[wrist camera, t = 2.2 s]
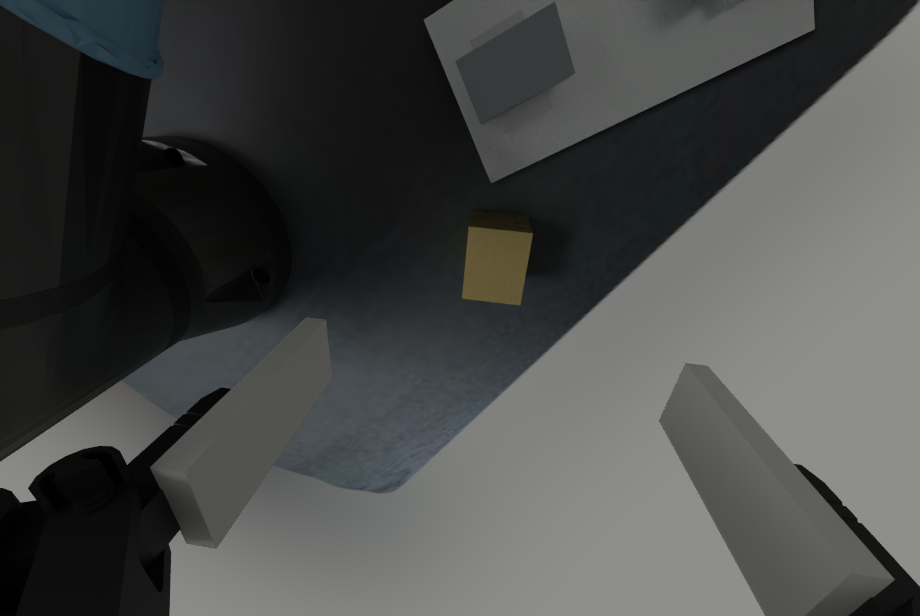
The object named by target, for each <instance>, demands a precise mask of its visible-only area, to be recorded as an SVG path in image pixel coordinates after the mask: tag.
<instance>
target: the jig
mask: <svg viewBox="0 0 920 616" xmlns="http://www.w3.org/2000/svg"><path fill="white" fill-rule="evenodd" d="M424 22H425V25H426V27H427V29H428V32H429V34H430V37H431V39H432V42H433V44H434V46H435V49H436V51H437V54H438V56H439V59H440V61H441V63H442V66H443V68H444V71H445V73H446V76H447V78H448V80H449V83H450V85H451V88H452V90H453V92H454V95H455V97H456V100H457V102H458V105H459V107H460V109H461V112H462V114H463V117H464V119H465V122H466V124H467V126H468V129H469V131H470V134H471V136H472V139H473V141H474V143H475V146H476V148H477V151H478V153H479V155H480V158H481V160H482V163H483V165H484V168H485V170H486V172H487V175H488V177H489V180H490V182H491V183H493V182H495V181H497V180H499V179H501V178H503V177H506V176H508V175H510V174H512V173H514V172H516V171H518V170H520V169H522V168H524V167H527V166H529V165H531V164H533V163H535V162H537V161H539V160H541V159H543V158H545V157H548V156H550V155H552V154H554V153H556V152H558V151H560V150H562V149H564V148H566V147H569V146H571V145H573V144H575V143H577V142H579V141H581V140H583V139H585V138H587V137H590V136H592V135H594V134H596V133H598V132H600V131H602V130H604V129H606V128H608V127H611V126H613V125H615V124H617V123H619V122H621V121H623V120H625V119H627V118H629V117H632V116H634V115H636V114H638V113H640V112H642V111H644V110H646V109H648V108H650V107H653V106H655V105H657V104H659V103H661V102H663V101H665V100H667V99H669V98H671V97H674V96H676V95H678V94H680V93H682V92H684V91H686V90H688V89H690V88H692V87H695V86H697V85H699V84H701V83H703V82H705V81H707V80H709V79H711V78H713V77H716V76H718V75H720V74H722V73H724V72H726V71H728V70H730V69H732V68H734V67H737V66H739V65H741V64H743V63H745V62H747V61H749V60H751V59H753V58H755V57H758V56H760V55H762V54H764V53H766V52H768V51H770V50H772V49H774V48H776V47H779V46H781V45H783V44H785V43H787V42H789V41H791V40H793V39H795V38H797V37H800V36H802V35H804V34H806V33H808V32H810V31H812V30H814V29H815V22H814V0H453V1H452V2H450V3H449V4H447V5H446V6H444V7H443V8H441V9H439V10H438V11H436V12H435V13H433V14H432V15H430V16H429V17H427V18H426V19H424Z"/></svg>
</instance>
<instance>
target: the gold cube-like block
mask: <svg viewBox="0 0 920 616" xmlns="http://www.w3.org/2000/svg"><path fill="white" fill-rule="evenodd" d="M532 237H533V231H532V228H531V225H530V222H529V219H528V216H526V215H516V214H506V213H496V212H486V211H476V210H474V211H473V215H472V218H471V221H470V224H469V228H468V239H467V250H466V261H465V272H464V283H463V294H462V299H470V300H478V301H487V302H496V303H504V304H513V305H520V304H521V299H522V293H523V287H524V282H525V276H526V271H527V265H528V259H529V254H530V248H531V242H532Z"/></svg>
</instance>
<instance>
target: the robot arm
mask: <svg viewBox="0 0 920 616" xmlns="http://www.w3.org/2000/svg"><path fill="white" fill-rule="evenodd" d="M162 1H163V0H0V461H2V460H3V459H5V458H6V457H8V456H9V455H11V454H12V453H14V452H15V451H17V450H18V449H20V448H21V447H23V446H24V445H26V444H27V443H29V442H30V441H32V440H33V439H35V438H36V437H37V436H39V435H40V434H42V433H43V432H45V431H46V430H48V429H49V428H51V427H52V426H54V425H55V424H57V423H58V422H60V421H61V420H63V419H64V418H66V417H67V416H69V415H70V414H71V413H73V412H74V411H76V410H78V409H79V408H81V407H82V406H83V405H85V404H86V403H88V402H89V401H91V400H92V399H94V398H95V397H97V396H98V395H100V394H101V393H103V392H104V391H106V390H107V389H108V388H110V387H112V386H113V385H115V384H116V383H118V382H119V381H121V380H122V379H124V378H125V377H127V376H128V375H130V374H131V373H132V372H134V371H135V370H137V369H138V368H140V367H141V366H143V365H144V364H146V363H147V362H149V361H150V360H152V359H153V358H155V357H156V356H158V355H159V354H160V353H162V352H163V351H165V350H166V349H168V348H170V347H171V346H173V345H174V344H176V343H178V342H179V341H182V340H186V339H190V338H193V337H197V336H201V335H204V334H208V333H212V332H215V331H219V330H223V329H226V328H230V327H234V326H237V325H240V324H243V323H245V322H247V321H249V320H251V319H253V318H254V317H256V316H257V315H259V314H260V313H261V312H262V311H264V310H265V309H266V308H268V307H269V306H270V305H272V304H273V303H274V302H275V301H276V300H277V299H278V297H279V296H280V295H281V293H282V292H283V290H284V288H285V286H286V283H287V281H288V277H289V273H290V265H291V254H290V246H289V240H288V236H287V233H286V230H285V227H284V224H283V222H282V219H281V217H280V215H279V213H278V211H277V209H276V207H275V206H274V204H273V202H272V201H271V199H270V198H269V196H268V195H267V193H266V192H265V191H264V189H263V188H262V187H261V186H260V185H259V183H258V182H257V181H256V180H255V179H254V178H253V177H252V176H251V175H250V174H249V173H248V172H247V171H246V170H245V169H244V168H242V167H241V166H240V165H239V164H238V163H236V162H235V161H234V160H232V159H231V158H229V157H228V156H226V155H225V154H223V153H222V152H220V151H218V150H216V149H214V148H212V147H210V146H208V145H206V144H203V143H200V142H198V141H194V140H191V139H187V138H182V137H173V136H158V137H142V135H143V129H144V123H145V117H146V111H147V104H148V98H149V92H150V86H151V80H152V79H154V78H157V77H160V76H161V74H162V69H163V60H162V57H161V54H160V51H159V49H158V41H159V31H160V21H161V11H162ZM331 379H332V369H331V360H330V351H329V342H328V333H327V324H326V320H325V319H317V318H309V317H306V318H305V319H304V320H303V321H302V322H301V323H300V324H299V325H298V326H297V327H295V328H294V329H293V330H292V331H291V332H290V333H289V334H288V335H287V336H286V337H285V338H284V339H283V340H282V341H281V342H280V343H279V344H278V345H277V346H276V347H275V348H274V349H273V350H272V351H271V352H269V353H268V354H267V355H266V356H265V357H264V358H263V359H262V360H261V361H260V362H259V363H258V364H257V365H256V366H255V367H254V368H253V369H252V370H251V371H250V372H249V373H248V374H247V375H246V376H245V377H243V378H242V379H241V380H240V381H239V382H238V383H237V384H236V385H235V386H234V387H233V388H232V389H228V388H219V389H218V390H216V391H214V392H212V393H210V394H208V395H207V396H205V397H203V398H201V399H200V400H199V401H198V402H197V403H196V404H195V405H194V406H192V407H191V408H190V409H189V410H188V411H187V413H186V415H185V414H184V415H182V416H181V417H180V418H179V419H178V420H177V421H176V422H175V423H174V425H173V426H170V427H169V428H168V429H167V430H166V431H165V432H164V433H162V434H161V435H160V436H159V437H158V438H157V439H156V440H155V441H153V443H151V444H150V445H149V446H148V447H147V448H146V449H145V450H143V451H142V452H141V453H140V454H139V455H138V456H137V457H136V458H134V459H133V460H132V461H131V462H130V463H129V464H128V465H127V464H126V462H125V460H124V458H123V456H122V454H121V453H120V451H119V450H117V449H116V448H114V447H111V446H97V447H92V448H87V449H83V450H80V451H78V452H76V453H73V454H70V455H68V456H65V457H64V458H62V459H60V460H58V461H57V462H55V463H53V464H51V465H50V466H48V467H47V468H46V469H45V470H44V471H43V472H41V473H40V474H39V475H38V476H36V478H35V479H34V481H33V482H32V483H31V485H30V486H29V488H28V489H29V490H30V492H31V493H32V494H33V496H34V497H35V498H36V501H29V502H23V503H20V502H19V500H18V499H17V498H16V496H15V495H14V494H13V493H12V491H9V490H6V489H3V488H0V616H169V608H170V573H171V551H170V547H169V542H170V541H171V540H172V539H173V537H174V536H175V535H176V533H177V532H178V531H179V530H180V531H181V533H182V535H183V537H184V539H185V541H186V543H187V544H191V545H198V546H204V547H210V548H217V547H218V546H219V544H220V543H221V541H222V540H223V538H224V537H225V535H226V534H227V532H228V531H229V529H230V528H231V527H232V525H233V524H234V522H235V521H236V519H237V518H238V516H239V515H240V513H241V512H242V510H243V509H244V507H245V506H246V504H247V503H248V501H249V500H250V499H251V497H252V496H253V494H254V493H255V491H256V490H257V488H258V487H259V485H260V484H261V482H262V481H263V479H264V478H265V476H266V475H267V473H268V472H269V471H270V469H271V468H272V466H273V465H274V463H275V462H276V460H277V459H278V457H279V456H280V454H281V453H282V451H283V450H284V449H285V447H286V446H287V444H288V443H289V441H290V440H291V438H292V437H293V435H294V434H295V432H296V431H297V429H298V428H299V426H300V425H301V423H302V422H303V421H304V419H305V418H306V416H307V415H308V413H309V412H310V410H311V409H312V407H313V406H314V404H315V403H316V401H317V400H318V398H319V397H320V396H321V394H322V393H323V391H324V390H325V388H326V387H327V385H328V384H329V382H330V381H331ZM659 422H660V423H661V425H662V427H663V429H664V431H665V432H666V434H667V436H668V438H669V440H670V442H671V444H672V445H673V447H674V449H675V451H676V453H677V455H678V456H679V458H680V460H681V462H682V464H683V465H684V467H685V469H686V471H687V473H688V475H689V477H690V478H691V480H692V482H693V484H694V486H695V488H696V489H697V491H698V493H699V495H700V497H701V499H702V500H703V502H704V504H705V506H706V508H707V510H708V512H709V513H710V515H711V517H712V519H713V521H714V522H715V524H716V526H717V528H718V530H719V532H720V534H721V535H722V537H723V539H724V541H725V543H726V545H727V546H728V548H729V550H730V552H731V554H732V556H733V557H734V559H735V561H736V563H737V565H738V566H739V568H740V570H741V572H742V574H743V576H744V577H745V580H746V581H747V583H748V585H749V587H750V589H751V591H752V592H753V594H754V596H755V598H756V600H757V602H758V603H759V605H760V607H761V609H762V611H763V612H764V614H765V616H920V586H919V585H917V583H916V582H915V581H914V580H913V579H912V578H911V577H910V576H909V574H907V572H906V571H905V570H904V569H903V568H902V567H901V566H900V565H899V564H898V562H897V561H896V560H895V559H894V558H893V557H892V556H891V555H890V554H889V553H888V552H887V551H886V549H885V548H884V547H883V546H882V545H881V544H880V543H879V542H878V541H877V540H876V539H875V537H874V536H873V535H872V534H871V533H870V532H869V531H868V530H867V529H866V528H865V527H864V525H862V523H858V521H857V518H856V517H855V516H854V515H853V513H852V512H851V511H850V510H849V509H848V508H847V507H846V506H843V505H842V501H841V500H840V499H839V498H838V497H837V496H836V495H835V494H834V493H833V492H832V491H831V489H829V487H828V486H827V485H826V484H825V483H824V482H823V481H821V480H820V479H819V478H817V477H816V476H815V475H814V474H812V473H811V472H809V471H808V470H807V469H806V468H804V467H803V466H802V465H797V464H793V463H792V462H791V461H790V459H788V457H787V456H786V455H785V454H784V453H783V451H782V450H781V449H780V448H779V447H778V446H777V445H776V444H775V443H774V441H773V440H772V439H771V438H770V437H769V435H768V434H767V433H766V432H765V431H764V430H763V429H762V427H761V426H760V425H759V424H758V423H757V422H756V421H755V419H754V418H753V417H752V416H751V415H750V414H749V413H748V411H747V410H746V409H745V408H744V407H743V406H742V405H741V403H740V402H739V401H738V400H737V399H736V398H735V397H734V396H733V394H732V393H731V392H730V391H729V390H728V389H727V388H726V386H725V385H724V384H723V383H722V382H721V381H720V380H719V378H718V377H717V376H716V375H715V374H714V373H713V372H712V371H711V369H710V368H709V367H708V366H703V365H695V364H686V363H685V365H684V368H683V370H682V372H681V374H680V376H679V378H678V381H677V383H676V385H675V387H674V389H673V392H672V394H671V396H670V398H669V400H668V402H667V405H666V407H665V409H664V411H663V413H662V416H661V418H660V420H659Z"/></svg>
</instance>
